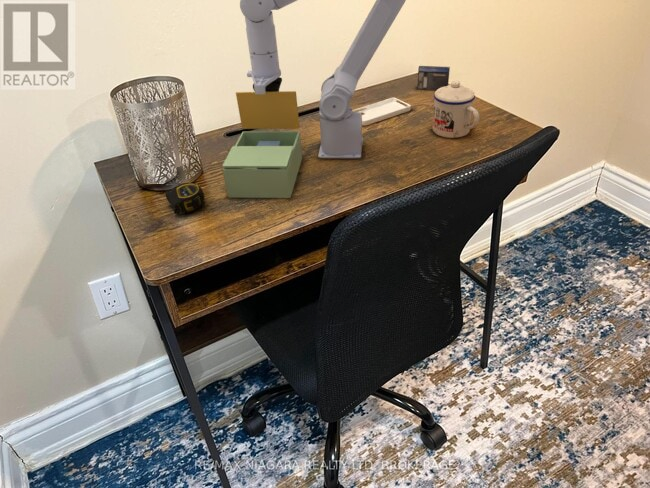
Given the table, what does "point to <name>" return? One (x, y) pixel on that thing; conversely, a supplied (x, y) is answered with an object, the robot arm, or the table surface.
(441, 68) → the mini dv tape
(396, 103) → the phone case
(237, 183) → the green open box
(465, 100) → the teacup with lid
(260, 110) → the lid
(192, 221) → the table surface
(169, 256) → the table surface
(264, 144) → the cube
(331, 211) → the table surface
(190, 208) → the tape measure
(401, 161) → the table surface
